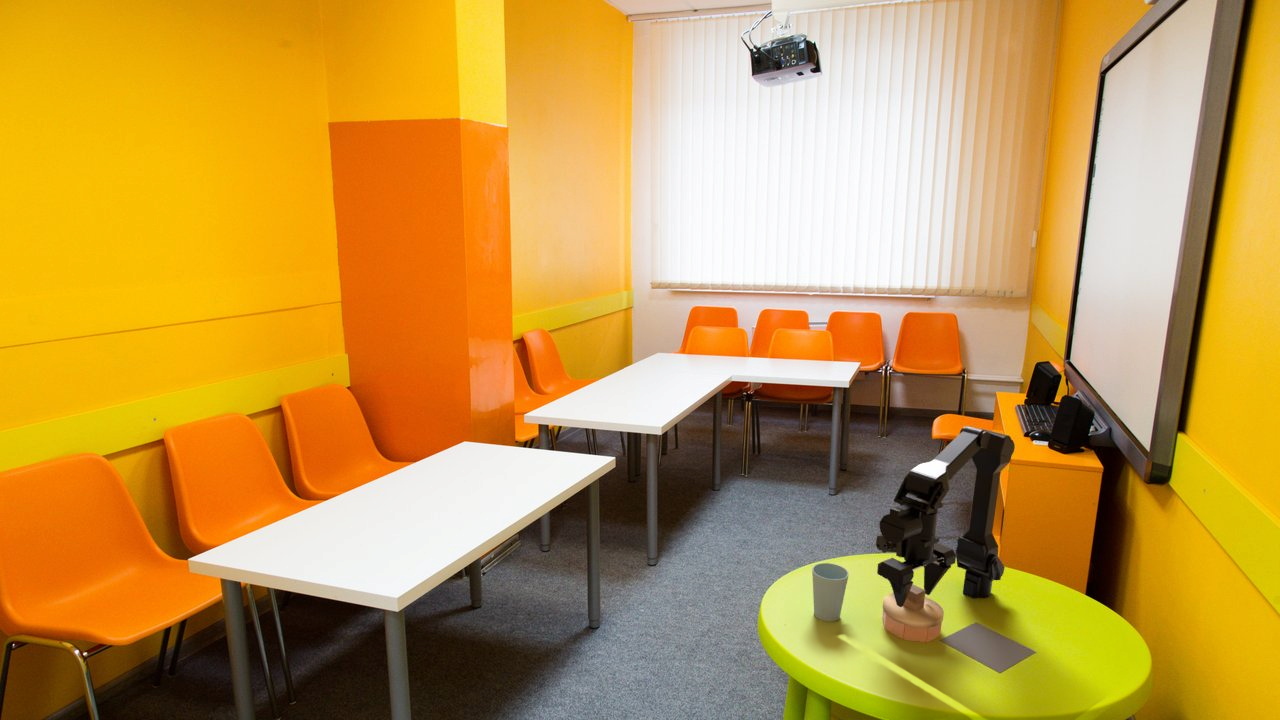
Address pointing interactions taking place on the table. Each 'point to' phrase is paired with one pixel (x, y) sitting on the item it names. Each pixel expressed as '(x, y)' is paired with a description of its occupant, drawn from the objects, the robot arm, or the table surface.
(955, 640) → the mat
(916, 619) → the lid
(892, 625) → the ring
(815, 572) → the cup
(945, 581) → the table surface
